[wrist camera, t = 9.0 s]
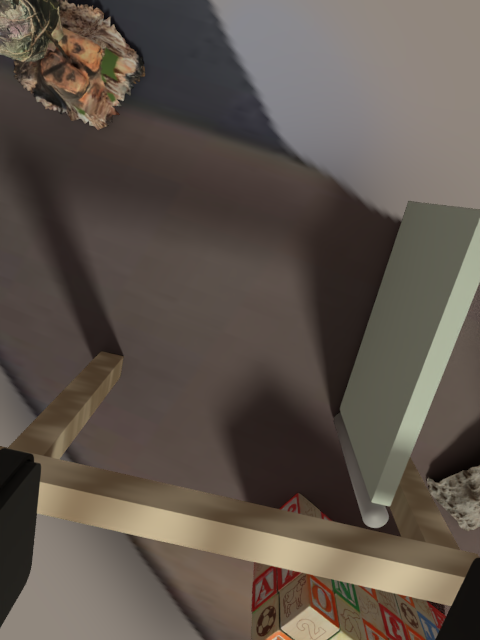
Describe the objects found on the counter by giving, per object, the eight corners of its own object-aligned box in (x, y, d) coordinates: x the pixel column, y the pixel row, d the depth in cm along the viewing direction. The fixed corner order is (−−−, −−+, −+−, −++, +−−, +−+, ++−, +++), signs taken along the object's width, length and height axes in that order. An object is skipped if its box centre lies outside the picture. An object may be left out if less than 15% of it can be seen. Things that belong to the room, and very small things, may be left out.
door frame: (399, 420, 40) (494, 584, 23) (392, 439, 40) (480, 612, 24) (90, 348, 39) (-33, 465, 23) (87, 369, 40) (-35, 497, 23)
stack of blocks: (447, 613, 46) (510, 761, 34) (401, 645, 47) (446, 797, 36) (297, 490, 43) (310, 607, 31) (252, 528, 44) (248, 654, 32)
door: (348, 430, 40) (383, 530, 28) (331, 426, 40) (359, 524, 28) (426, 205, 34) (510, 216, 22) (405, 200, 34) (479, 208, 22)
